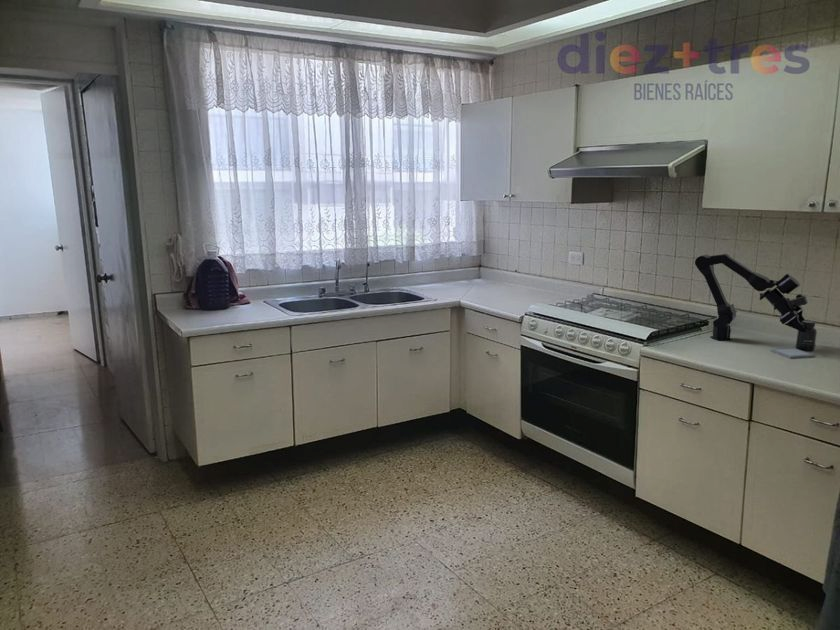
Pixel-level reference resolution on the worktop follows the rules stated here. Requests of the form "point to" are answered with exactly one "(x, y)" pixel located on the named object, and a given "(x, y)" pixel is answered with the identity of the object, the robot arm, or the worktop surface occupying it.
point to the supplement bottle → (806, 337)
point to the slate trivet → (792, 353)
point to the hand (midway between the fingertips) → (806, 329)
